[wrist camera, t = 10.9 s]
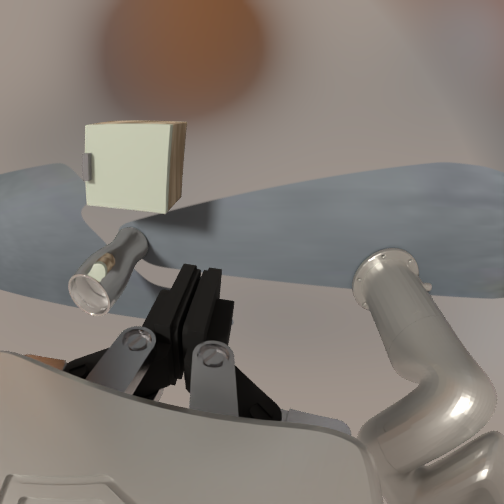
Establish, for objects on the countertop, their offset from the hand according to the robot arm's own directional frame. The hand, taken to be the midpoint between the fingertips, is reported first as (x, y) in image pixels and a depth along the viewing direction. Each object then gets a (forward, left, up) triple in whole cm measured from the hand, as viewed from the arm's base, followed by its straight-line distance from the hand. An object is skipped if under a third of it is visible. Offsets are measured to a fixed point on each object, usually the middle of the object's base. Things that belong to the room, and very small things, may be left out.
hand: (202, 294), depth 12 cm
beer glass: (+17, +14, -29) cm, 37 cm away
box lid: (+15, 0, -23) cm, 27 cm away
